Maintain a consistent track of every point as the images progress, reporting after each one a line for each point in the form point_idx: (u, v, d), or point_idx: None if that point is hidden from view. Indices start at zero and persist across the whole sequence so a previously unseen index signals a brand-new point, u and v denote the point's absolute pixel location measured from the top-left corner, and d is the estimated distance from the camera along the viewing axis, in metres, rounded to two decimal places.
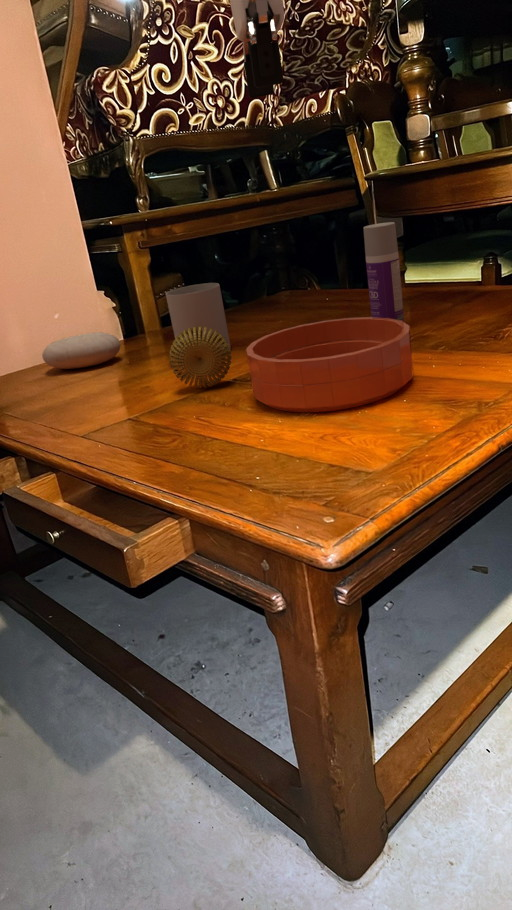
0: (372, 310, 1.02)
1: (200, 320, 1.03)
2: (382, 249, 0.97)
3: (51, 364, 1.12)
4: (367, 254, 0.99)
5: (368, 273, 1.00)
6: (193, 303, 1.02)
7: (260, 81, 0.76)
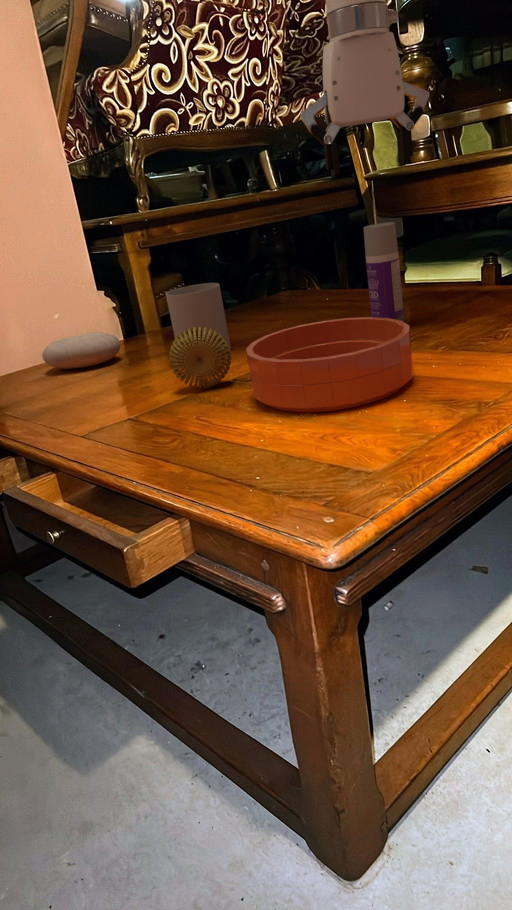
0: (372, 310, 1.02)
1: (200, 320, 1.03)
2: (382, 249, 0.97)
3: (51, 364, 1.12)
4: (367, 254, 0.99)
5: (368, 273, 1.00)
6: (193, 303, 1.02)
7: None
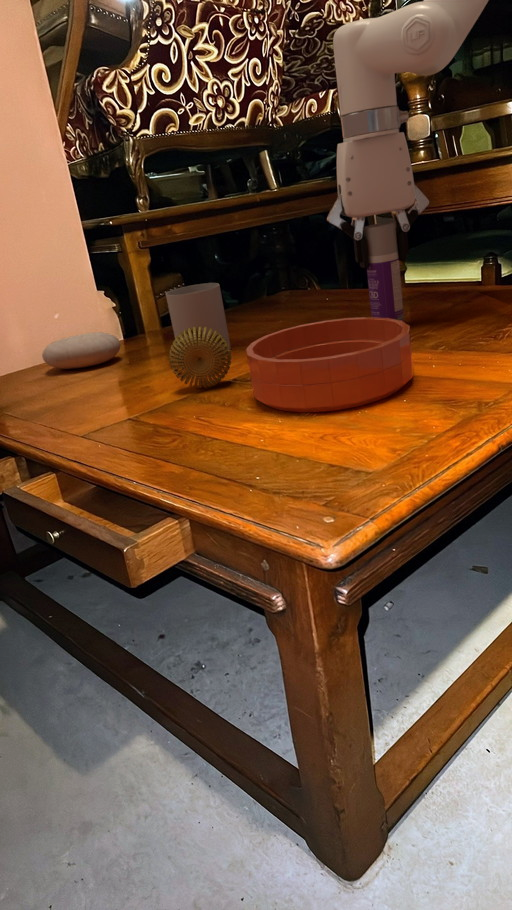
0: (372, 310, 1.02)
1: (200, 320, 1.03)
2: (382, 249, 0.97)
3: (51, 364, 1.12)
4: None
5: (368, 273, 1.00)
6: (193, 303, 1.02)
7: None
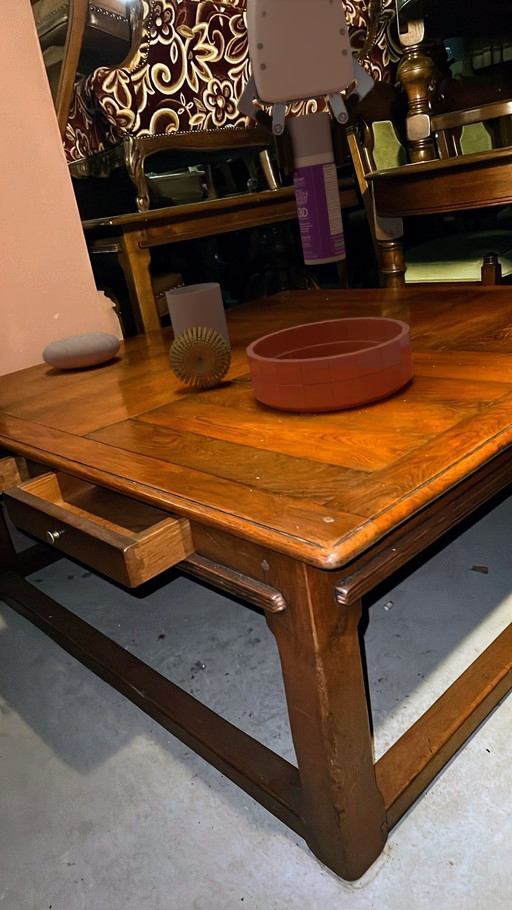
0: (302, 234, 0.77)
1: (200, 320, 1.03)
2: (311, 147, 0.72)
3: (51, 364, 1.12)
4: (292, 156, 0.74)
5: (295, 183, 0.75)
6: (193, 303, 1.02)
7: None
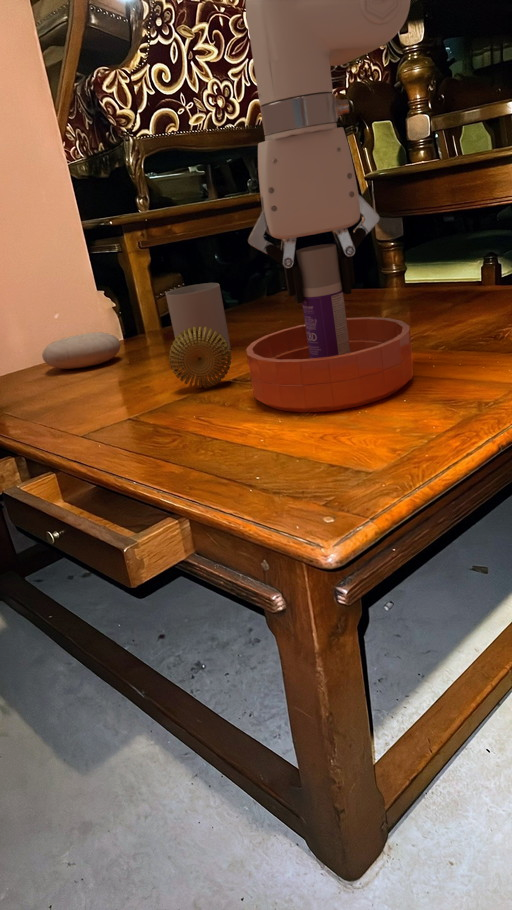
0: (311, 355, 0.80)
1: (200, 320, 1.03)
2: (320, 279, 0.75)
3: (51, 364, 1.12)
4: (302, 286, 0.77)
5: (304, 309, 0.78)
6: (193, 303, 1.02)
7: None
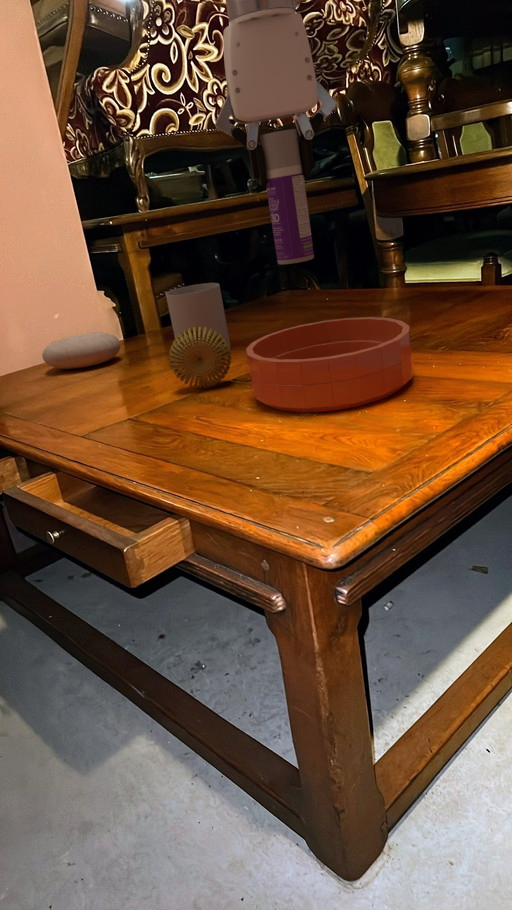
0: (275, 238, 0.86)
1: (200, 320, 1.03)
2: (281, 160, 0.81)
3: (51, 364, 1.12)
4: (265, 168, 0.83)
5: (267, 192, 0.84)
6: (193, 303, 1.02)
7: None
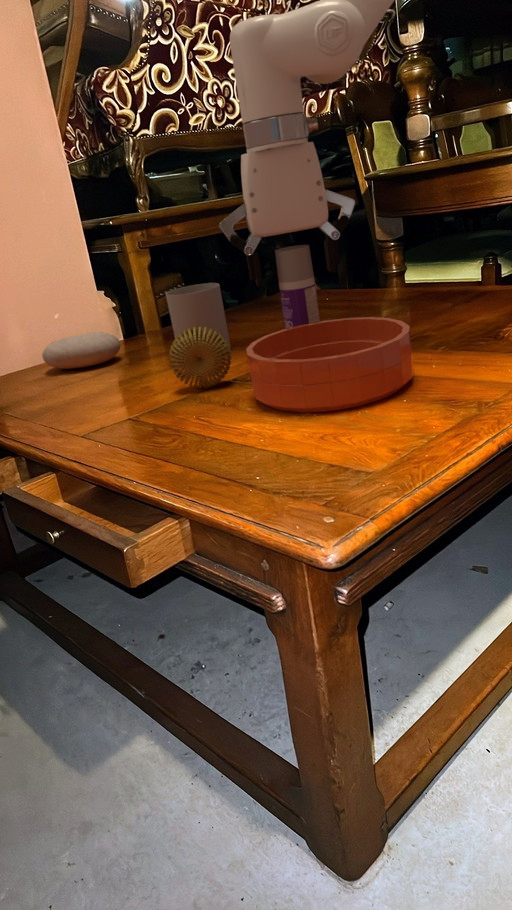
0: None
1: (200, 320, 1.03)
2: (294, 275, 0.88)
3: (51, 364, 1.12)
4: (280, 280, 0.90)
5: (282, 301, 0.91)
6: (193, 303, 1.02)
7: None
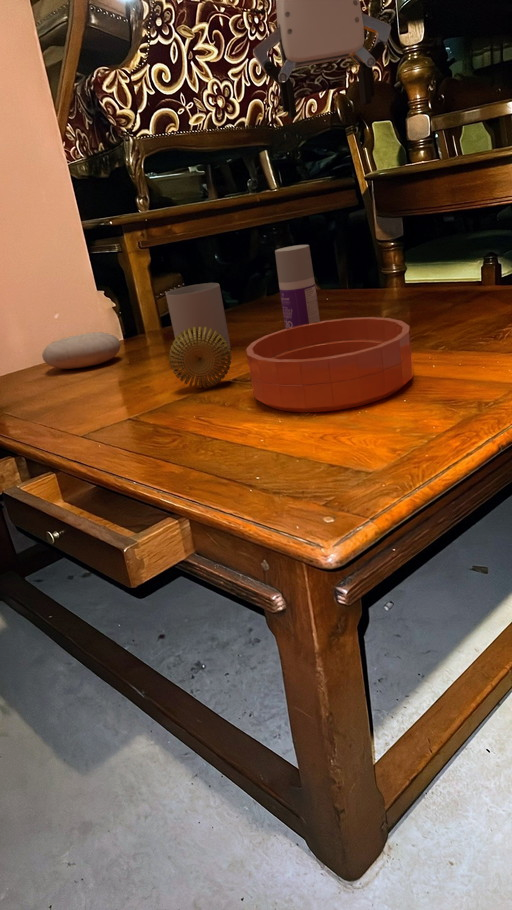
0: None
1: (200, 320, 1.03)
2: (294, 275, 0.88)
3: (51, 364, 1.12)
4: (280, 280, 0.90)
5: (282, 301, 0.91)
6: (193, 303, 1.02)
7: None
